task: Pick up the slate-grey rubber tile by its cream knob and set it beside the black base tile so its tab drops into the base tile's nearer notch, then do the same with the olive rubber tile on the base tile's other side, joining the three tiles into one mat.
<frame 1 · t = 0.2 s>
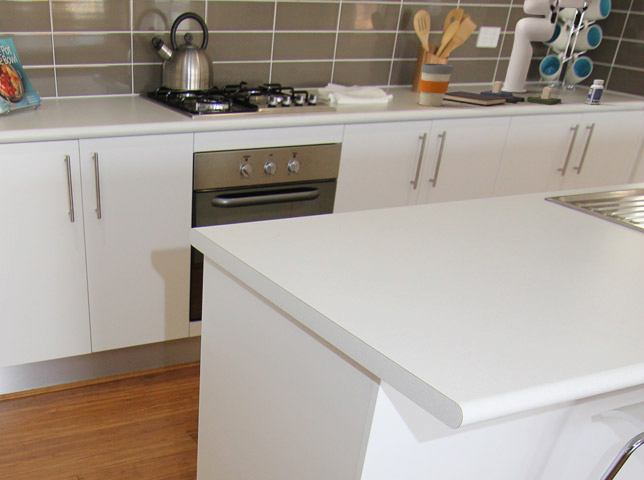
hand: (563, 24, 305), 31 cm above the countertop, tool pointing down, fingers open, 9 cm apart
reusable coffee cup: (430, 104, 309), on the countertop
olive tile: (544, 102, 329), on the countertop
slate tile: (495, 95, 342), on the countertop
pill bottle: (591, 104, 330), on the countertop
base tile: (507, 100, 328), on the countertop
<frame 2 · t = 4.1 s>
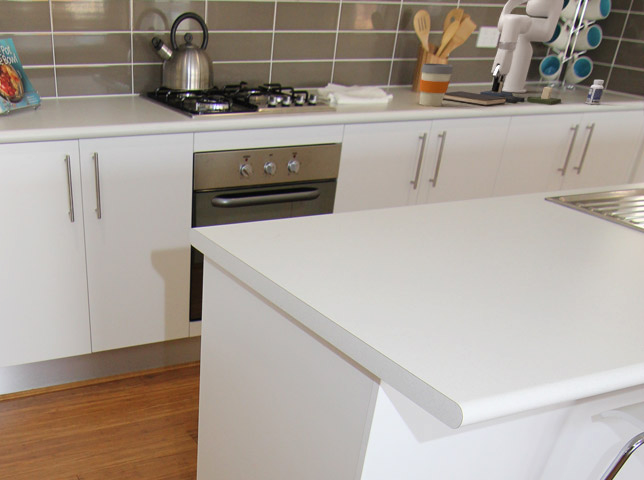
hand: (496, 90, 341), 2 cm above the countertop, tool pointing down, fingers closed on slate tile, 3 cm apart
slate tile: (495, 95, 342), on the countertop, touching gripper
everything else where it was.
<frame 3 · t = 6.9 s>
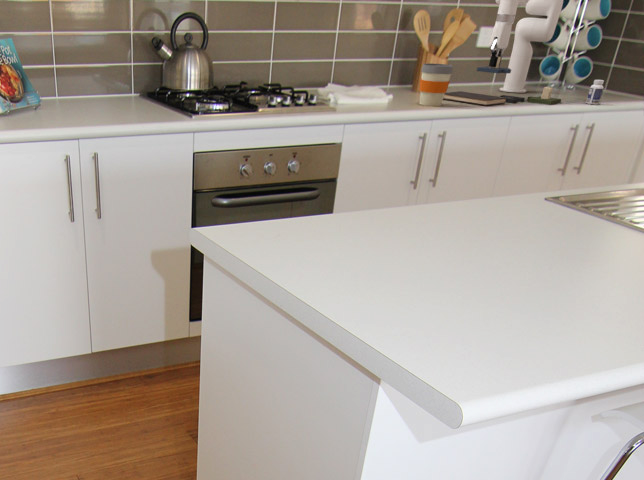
hand: (494, 66, 327), 13 cm above the countertop, tool pointing down, fingers closed on slate tile, 3 cm apart
slate tile: (492, 71, 328), point 11 cm above the countertop, touching gripper
everything else where it was.
when the fingers open (2 cm above the countertop, at t = 10.0 s): slate tile stays where it is, on the countertop.
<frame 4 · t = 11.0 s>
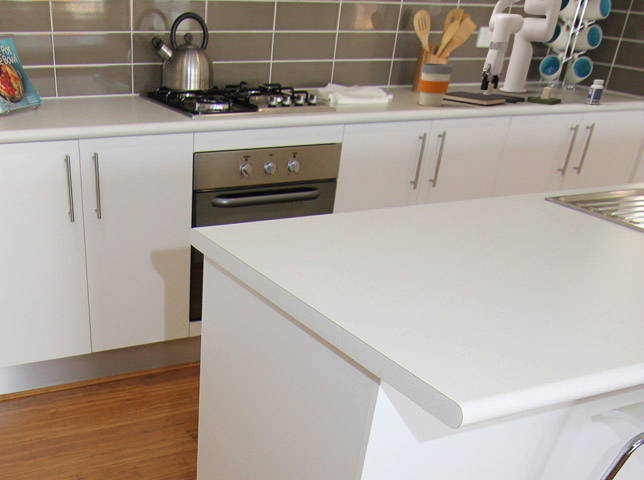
hand: (488, 89, 332), 4 cm above the countertop, tool pointing down, fingers open, 9 cm apart
slate tile: (486, 98, 334), on the countertop
everything else where it was.
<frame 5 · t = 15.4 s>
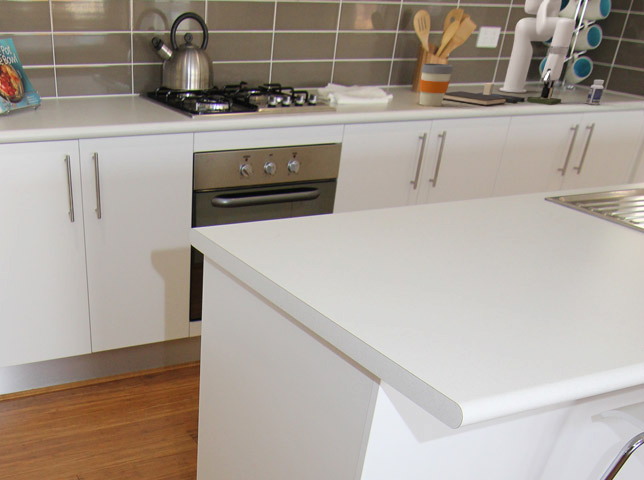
hand: (545, 96, 327), 2 cm above the countertop, tool pointing down, fingers closed on olive tile, 3 cm apart
olive tile: (544, 102, 329), on the countertop, touching gripper
everything else where it was.
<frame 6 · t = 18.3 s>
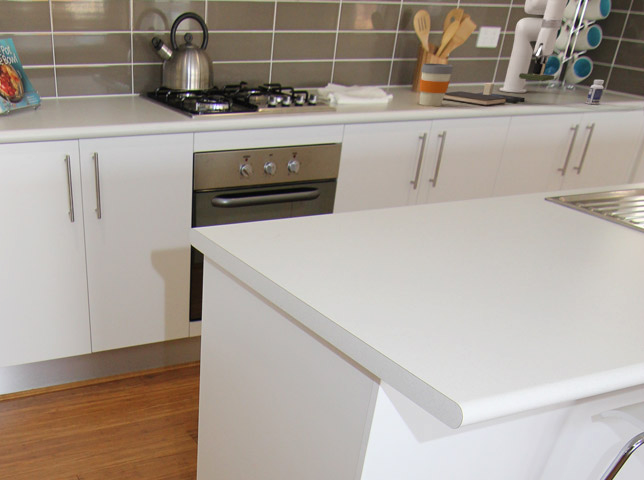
hand: (538, 73, 316), 12 cm above the countertop, tool pointing down, fingers closed on olive tile, 3 cm apart
olive tile: (536, 79, 317), point 10 cm above the countertop, touching gripper
everything else where it was.
when the fingers open (2 cm above the countertop, at t = 21.2 s): olive tile stays where it is, on the countertop.
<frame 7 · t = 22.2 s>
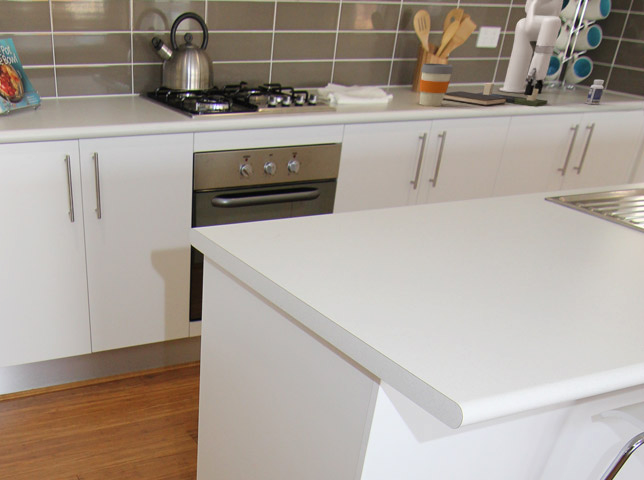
hand: (532, 94, 320), 4 cm above the countertop, tool pointing down, fingers open, 9 cm apart
olive tile: (530, 103, 322), on the countertop
everything else where it was.
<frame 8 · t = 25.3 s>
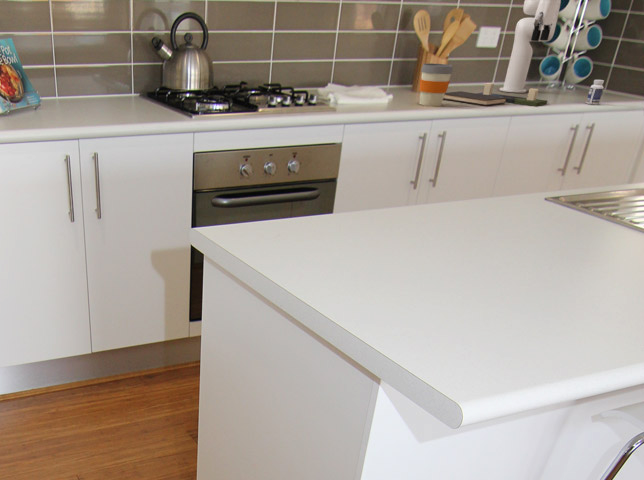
hand: (539, 40, 314), 24 cm above the countertop, tool pointing down, fingers open, 9 cm apart
nothing on the countertop moved.
at the end: slate tile 0.5 cm from the target spot on the countertop beside the base tile, on the countertop; olive tile 0.4 cm from the target spot on the countertop beside the base tile, on the countertop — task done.
